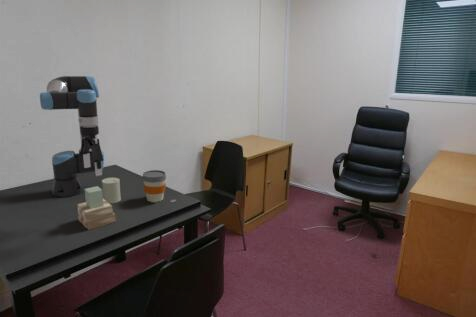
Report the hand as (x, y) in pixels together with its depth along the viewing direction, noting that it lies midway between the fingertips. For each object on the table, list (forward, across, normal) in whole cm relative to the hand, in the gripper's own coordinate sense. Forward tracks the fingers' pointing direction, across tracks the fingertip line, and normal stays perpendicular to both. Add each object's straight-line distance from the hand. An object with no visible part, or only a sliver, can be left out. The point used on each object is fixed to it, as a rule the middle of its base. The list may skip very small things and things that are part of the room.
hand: (93, 171), depth 159 cm
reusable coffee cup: (+26, -7, +35) cm, 44 cm away
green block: (+17, 0, 0) cm, 17 cm away
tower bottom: (+26, 0, 0) cm, 26 cm away
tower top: (+21, 0, 0) cm, 21 cm away
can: (+26, -20, +16) cm, 36 cm away
